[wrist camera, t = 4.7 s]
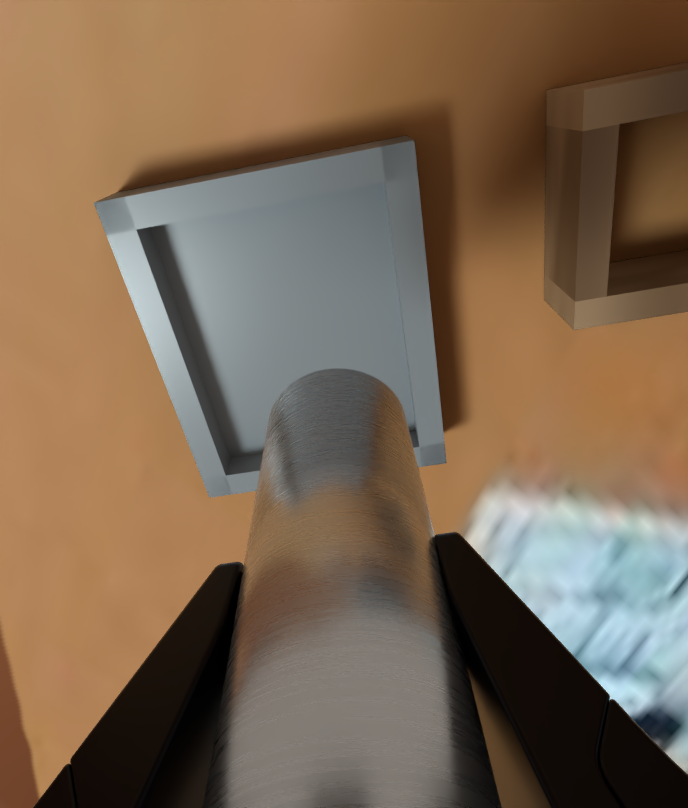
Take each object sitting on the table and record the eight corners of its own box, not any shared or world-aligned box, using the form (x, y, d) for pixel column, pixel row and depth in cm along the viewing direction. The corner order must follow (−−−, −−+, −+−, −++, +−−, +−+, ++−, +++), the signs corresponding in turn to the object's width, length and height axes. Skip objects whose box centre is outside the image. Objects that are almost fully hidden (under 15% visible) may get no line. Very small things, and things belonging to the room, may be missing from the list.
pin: (398, 358, 12) (620, 1163, 3) (412, 474, 13) (579, 1211, 5) (253, 380, 12) (52, 1202, 3) (284, 492, 13) (208, 1237, 5)
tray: (407, 135, 18) (414, 140, 16) (438, 435, 23) (446, 462, 22) (116, 192, 18) (93, 203, 17) (218, 468, 24) (209, 497, 23)
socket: (779, 43, 16) (862, 35, 14) (735, 267, 20) (794, 294, 17) (546, 90, 17) (584, 90, 14) (543, 299, 20) (573, 330, 18)
